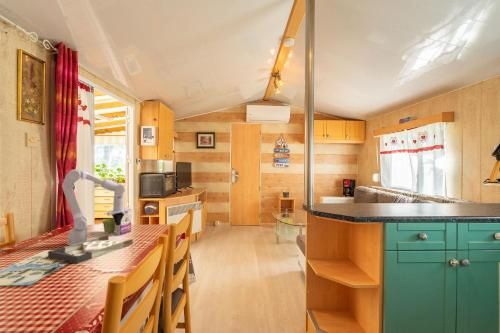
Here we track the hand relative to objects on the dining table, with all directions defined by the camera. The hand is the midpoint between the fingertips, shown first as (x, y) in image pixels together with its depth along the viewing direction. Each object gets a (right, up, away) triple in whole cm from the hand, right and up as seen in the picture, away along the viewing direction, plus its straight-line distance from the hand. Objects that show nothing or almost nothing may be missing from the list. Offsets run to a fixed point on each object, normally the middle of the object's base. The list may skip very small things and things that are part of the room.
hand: (117, 225), depth 165 cm
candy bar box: (-5, -10, +17) cm, 20 cm away
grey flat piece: (-1, -9, -17) cm, 19 cm away
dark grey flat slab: (-7, -9, -33) cm, 35 cm away
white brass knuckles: (-1, -10, -17) cm, 20 cm away
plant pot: (-15, -9, +18) cm, 25 cm away
